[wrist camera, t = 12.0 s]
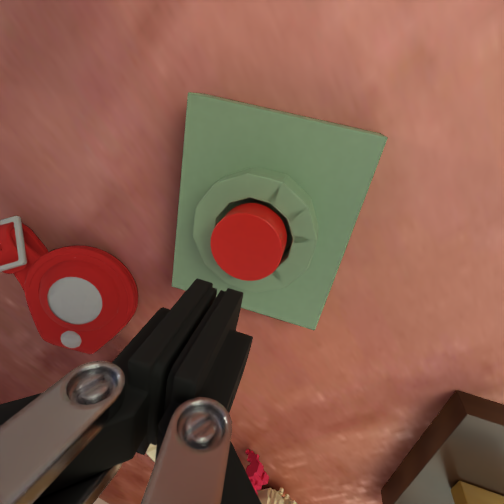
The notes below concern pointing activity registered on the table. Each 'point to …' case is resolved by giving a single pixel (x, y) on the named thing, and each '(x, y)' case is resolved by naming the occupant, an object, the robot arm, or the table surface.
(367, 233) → the table surface
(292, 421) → the table surface
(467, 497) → the lock knob
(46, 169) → the table surface
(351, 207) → the green button base
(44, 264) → the tracker holder
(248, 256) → the button
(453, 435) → the lock plate
